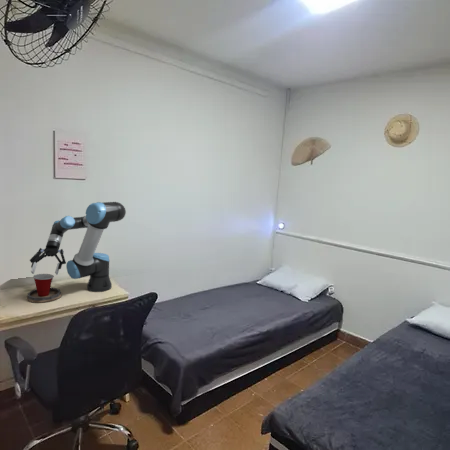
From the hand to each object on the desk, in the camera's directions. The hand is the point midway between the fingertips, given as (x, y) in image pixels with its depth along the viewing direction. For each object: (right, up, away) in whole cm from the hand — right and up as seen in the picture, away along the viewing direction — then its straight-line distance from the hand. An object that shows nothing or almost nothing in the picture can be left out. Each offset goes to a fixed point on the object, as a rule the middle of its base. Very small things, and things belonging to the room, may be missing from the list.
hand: (44, 273), depth 197 cm
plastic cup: (0, -13, +1) cm, 13 cm away
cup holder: (0, -14, 0) cm, 14 cm away
